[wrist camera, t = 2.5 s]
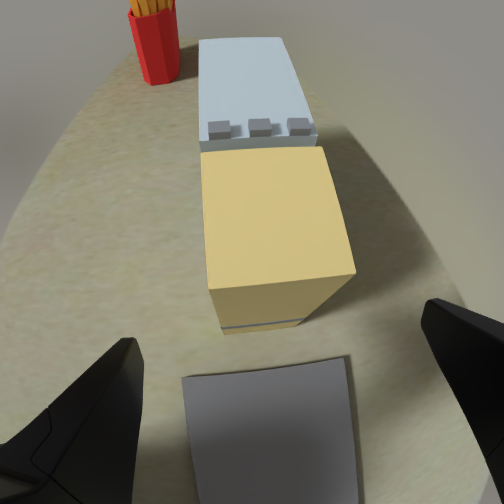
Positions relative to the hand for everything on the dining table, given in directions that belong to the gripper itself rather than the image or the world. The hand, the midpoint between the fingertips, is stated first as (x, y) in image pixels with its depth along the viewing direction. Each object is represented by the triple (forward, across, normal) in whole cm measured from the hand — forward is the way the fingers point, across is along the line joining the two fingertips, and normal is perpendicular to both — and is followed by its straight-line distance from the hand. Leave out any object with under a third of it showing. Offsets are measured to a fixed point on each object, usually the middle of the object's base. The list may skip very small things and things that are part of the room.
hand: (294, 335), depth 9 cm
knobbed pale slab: (+16, 0, 0) cm, 16 cm away
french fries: (+29, +7, -13) cm, 32 cm away
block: (+11, 0, +5) cm, 12 cm away
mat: (+3, 0, +13) cm, 13 cm away
